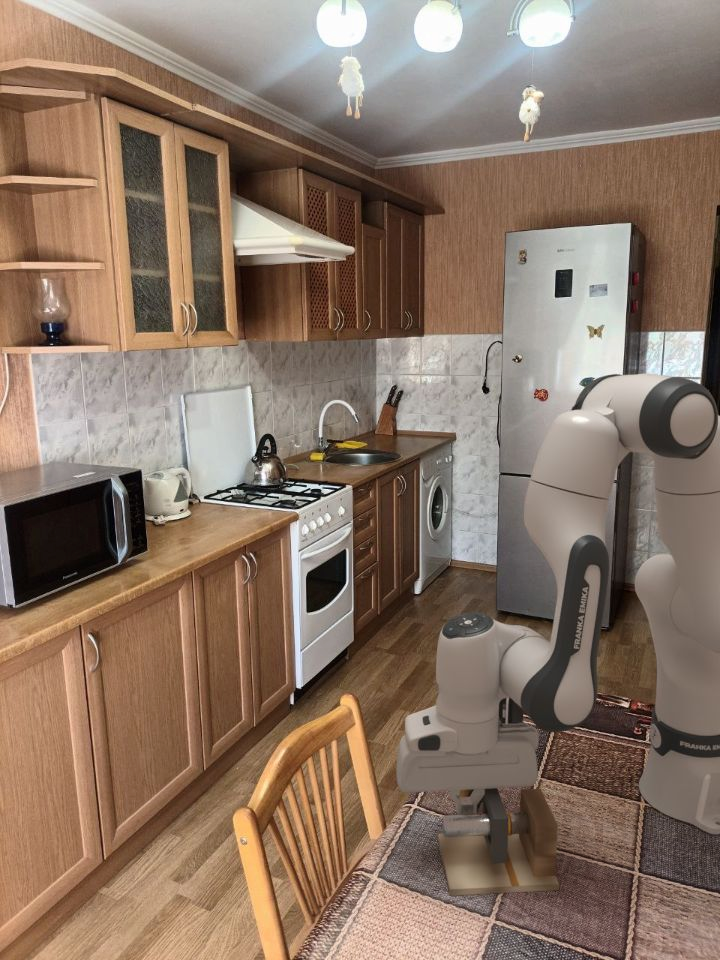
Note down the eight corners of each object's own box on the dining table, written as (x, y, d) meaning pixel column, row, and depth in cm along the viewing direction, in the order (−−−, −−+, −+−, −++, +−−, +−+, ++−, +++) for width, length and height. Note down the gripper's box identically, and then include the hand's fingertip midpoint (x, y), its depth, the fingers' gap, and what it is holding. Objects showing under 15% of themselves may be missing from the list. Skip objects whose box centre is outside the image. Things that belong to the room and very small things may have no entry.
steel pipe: (534, 824, 104) (535, 805, 104) (540, 839, 101) (541, 819, 101) (442, 828, 104) (442, 809, 103) (445, 843, 101) (445, 824, 100)
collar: (495, 828, 107) (496, 786, 105) (507, 862, 100) (508, 818, 98) (482, 829, 106) (482, 787, 105) (492, 863, 100) (493, 819, 98)
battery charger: (504, 729, 138) (506, 674, 136) (523, 734, 136) (525, 679, 134) (490, 746, 133) (491, 690, 130) (510, 752, 131) (512, 695, 128)
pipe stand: (535, 834, 109) (537, 782, 108) (558, 890, 99) (561, 832, 97) (437, 839, 109) (438, 786, 107) (450, 895, 98) (450, 837, 96)
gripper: (532, 711, 106) (530, 794, 109) (394, 717, 105) (395, 801, 108) (545, 734, 100) (542, 822, 103) (398, 741, 99) (399, 829, 102)
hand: (466, 811), depth 105 cm, fingers closed
